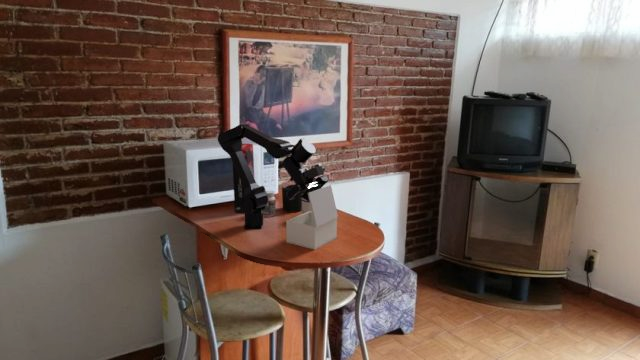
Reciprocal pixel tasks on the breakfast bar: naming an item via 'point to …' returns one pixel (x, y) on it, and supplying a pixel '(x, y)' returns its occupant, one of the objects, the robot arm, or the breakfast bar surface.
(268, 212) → the pill bottle
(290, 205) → the pen holder
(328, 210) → the carton flap
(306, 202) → the teacup with lid
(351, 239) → the breakfast bar surface
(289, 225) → the carton
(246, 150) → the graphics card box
